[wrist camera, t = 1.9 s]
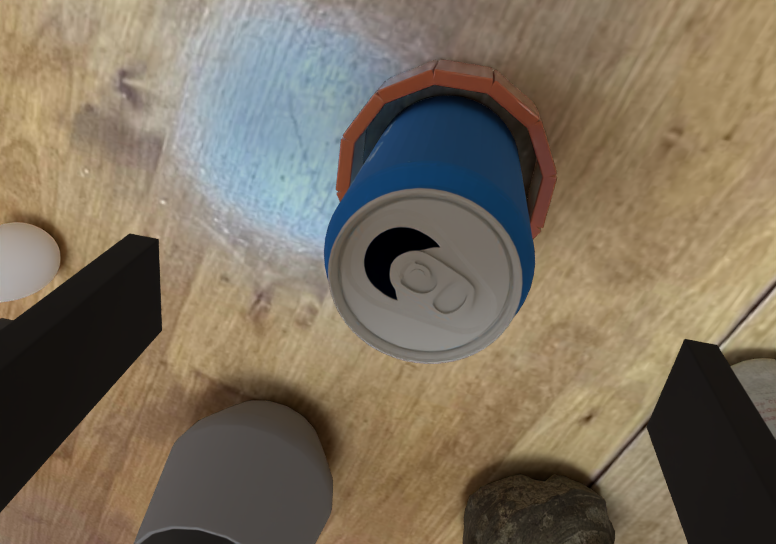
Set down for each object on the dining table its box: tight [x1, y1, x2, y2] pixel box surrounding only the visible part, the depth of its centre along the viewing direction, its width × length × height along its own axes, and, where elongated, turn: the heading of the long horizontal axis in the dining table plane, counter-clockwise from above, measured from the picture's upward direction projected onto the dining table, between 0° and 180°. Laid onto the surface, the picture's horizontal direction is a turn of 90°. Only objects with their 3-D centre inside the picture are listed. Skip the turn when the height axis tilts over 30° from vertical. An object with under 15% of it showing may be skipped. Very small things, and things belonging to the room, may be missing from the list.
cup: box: [134, 400, 333, 544], centre depth 33 cm, size 10×9×10 cm
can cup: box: [336, 59, 557, 239], centre depth 27 cm, size 9×9×3 cm
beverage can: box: [324, 95, 535, 364], centre depth 23 cm, size 6×6×12 cm
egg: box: [0, 222, 60, 302], centre depth 31 cm, size 4×4×6 cm
